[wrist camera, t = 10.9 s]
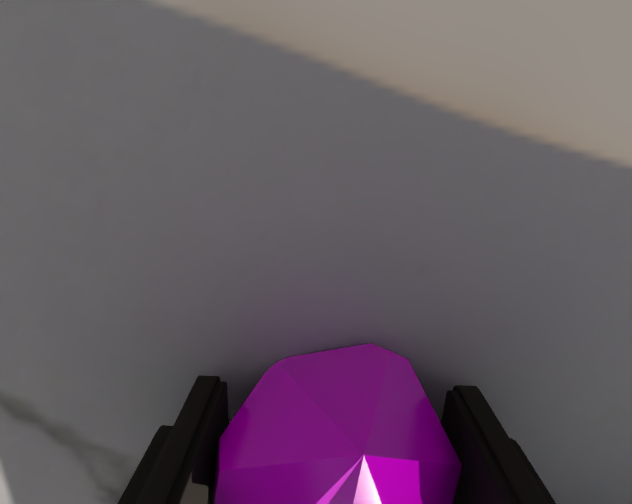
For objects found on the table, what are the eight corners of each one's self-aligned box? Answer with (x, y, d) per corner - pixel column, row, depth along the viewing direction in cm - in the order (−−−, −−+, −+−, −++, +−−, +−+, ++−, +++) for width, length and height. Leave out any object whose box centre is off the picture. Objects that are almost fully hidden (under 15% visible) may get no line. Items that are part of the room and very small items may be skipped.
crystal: (209, 393, 11) (134, 577, 6) (363, 291, 10) (400, 427, 5) (316, 499, 12) (316, 712, 8) (462, 419, 11) (558, 613, 7)
